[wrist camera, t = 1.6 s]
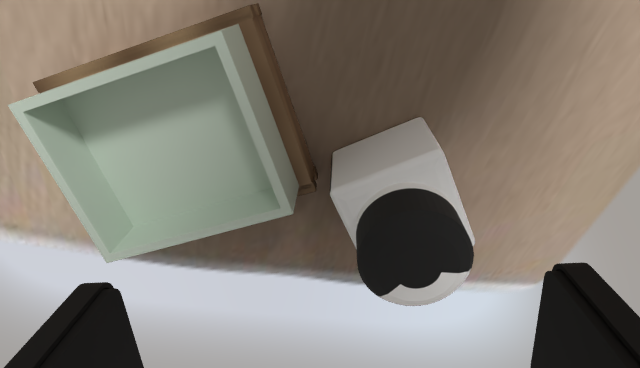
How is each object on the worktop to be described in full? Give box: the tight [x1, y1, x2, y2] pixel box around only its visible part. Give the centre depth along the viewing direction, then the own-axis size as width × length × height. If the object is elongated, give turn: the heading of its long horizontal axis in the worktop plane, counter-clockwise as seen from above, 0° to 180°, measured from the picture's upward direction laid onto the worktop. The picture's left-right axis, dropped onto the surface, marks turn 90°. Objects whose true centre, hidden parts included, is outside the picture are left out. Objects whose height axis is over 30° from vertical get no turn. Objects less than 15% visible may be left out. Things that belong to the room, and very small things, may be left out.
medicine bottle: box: [330, 117, 475, 306], centre depth 27 cm, size 7×7×12 cm
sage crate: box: [8, 24, 299, 263], centre depth 27 cm, size 13×11×4 cm
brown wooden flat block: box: [33, 3, 318, 196], centre depth 30 cm, size 15×13×3 cm
